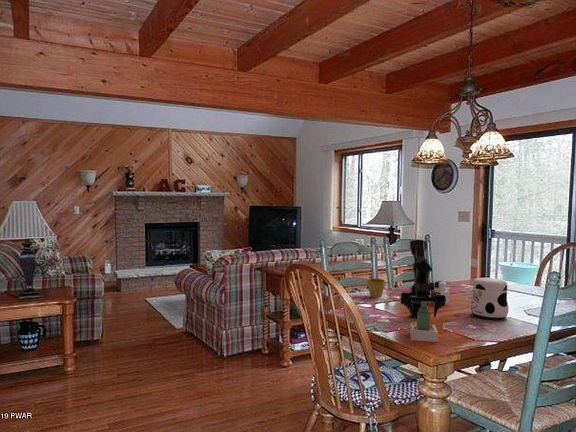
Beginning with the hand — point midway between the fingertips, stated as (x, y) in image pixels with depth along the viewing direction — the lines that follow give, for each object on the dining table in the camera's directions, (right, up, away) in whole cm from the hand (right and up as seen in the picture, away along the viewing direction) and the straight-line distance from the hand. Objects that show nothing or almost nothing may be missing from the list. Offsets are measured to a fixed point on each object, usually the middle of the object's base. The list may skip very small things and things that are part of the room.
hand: (423, 316), depth 191 cm
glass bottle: (0, -8, -1) cm, 8 cm away
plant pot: (-6, -5, +72) cm, 72 cm away
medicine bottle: (+27, -6, +58) cm, 65 cm away
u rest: (0, -9, -1) cm, 9 cm away
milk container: (+43, -8, +32) cm, 54 cm away
